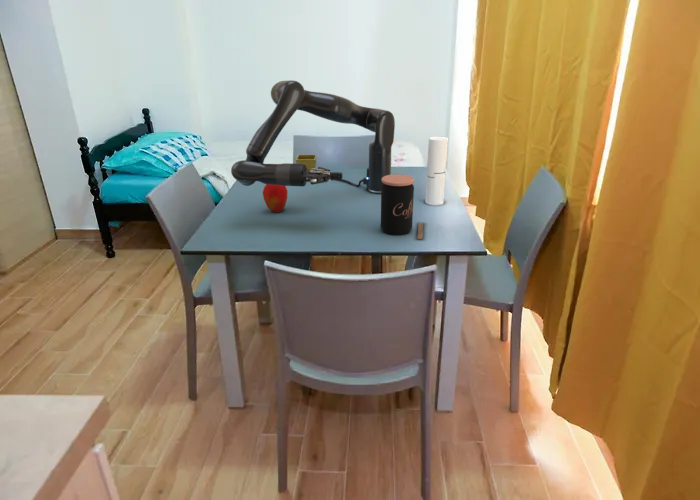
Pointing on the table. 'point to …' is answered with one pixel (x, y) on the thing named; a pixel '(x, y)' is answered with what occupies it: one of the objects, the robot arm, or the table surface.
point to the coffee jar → (397, 204)
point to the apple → (275, 197)
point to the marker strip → (420, 231)
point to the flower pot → (307, 160)
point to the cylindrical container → (436, 170)
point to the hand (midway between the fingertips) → (342, 176)
